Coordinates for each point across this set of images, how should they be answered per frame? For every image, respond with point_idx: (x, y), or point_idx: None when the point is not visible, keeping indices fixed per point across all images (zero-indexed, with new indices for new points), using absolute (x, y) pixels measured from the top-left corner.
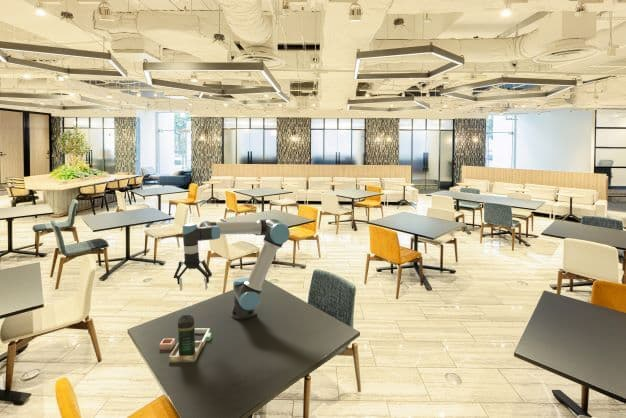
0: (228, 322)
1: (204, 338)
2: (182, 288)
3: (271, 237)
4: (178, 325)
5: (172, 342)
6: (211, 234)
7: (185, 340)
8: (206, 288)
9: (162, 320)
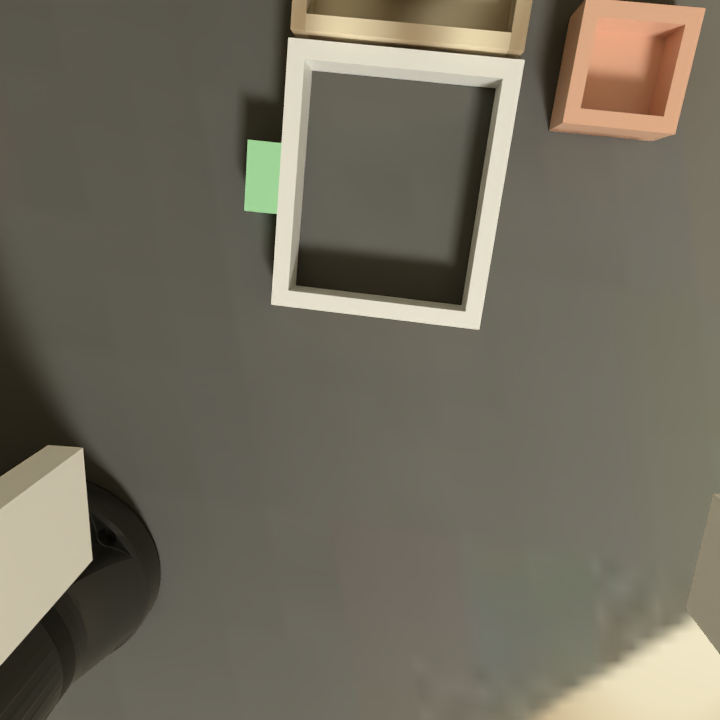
0: (160, 448)
1: (287, 107)
2: (693, 611)
3: None
4: None
5: (578, 37)
6: None
7: None
8: (33, 457)
9: None
